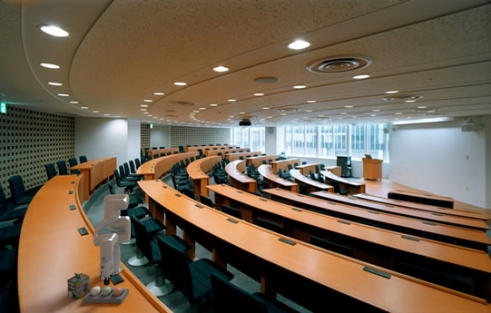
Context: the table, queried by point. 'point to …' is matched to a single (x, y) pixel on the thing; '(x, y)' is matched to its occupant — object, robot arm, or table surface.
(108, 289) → the pale green rounded piece
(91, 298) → the button board
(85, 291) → the chalk box
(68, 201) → the table surface
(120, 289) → the pink rounded dome
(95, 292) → the white rounded piece
